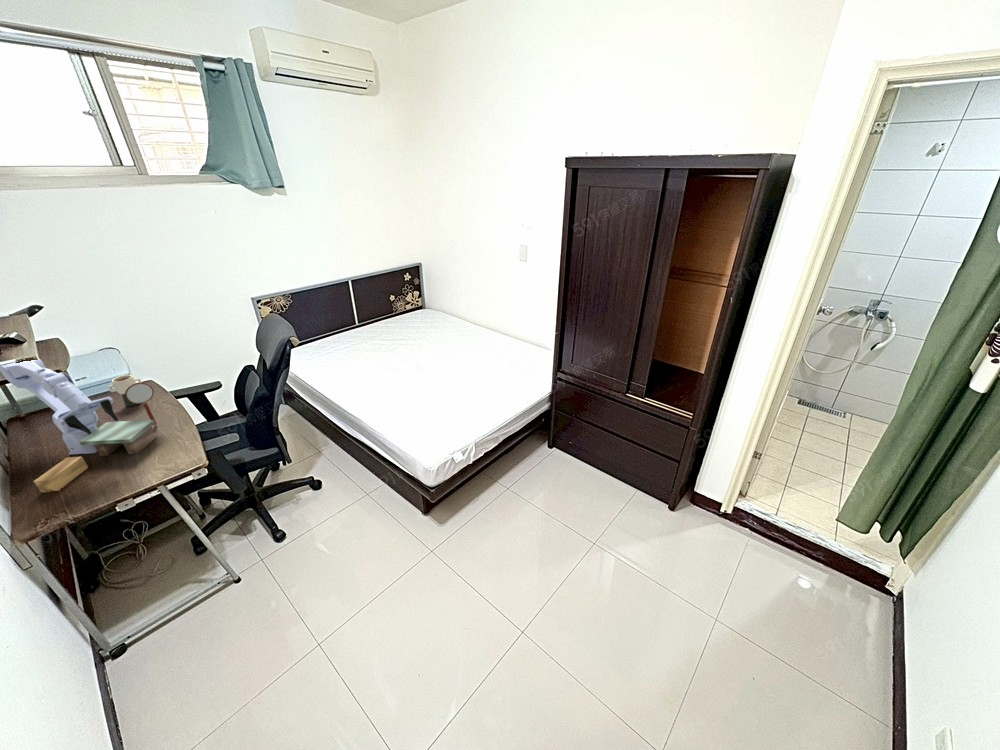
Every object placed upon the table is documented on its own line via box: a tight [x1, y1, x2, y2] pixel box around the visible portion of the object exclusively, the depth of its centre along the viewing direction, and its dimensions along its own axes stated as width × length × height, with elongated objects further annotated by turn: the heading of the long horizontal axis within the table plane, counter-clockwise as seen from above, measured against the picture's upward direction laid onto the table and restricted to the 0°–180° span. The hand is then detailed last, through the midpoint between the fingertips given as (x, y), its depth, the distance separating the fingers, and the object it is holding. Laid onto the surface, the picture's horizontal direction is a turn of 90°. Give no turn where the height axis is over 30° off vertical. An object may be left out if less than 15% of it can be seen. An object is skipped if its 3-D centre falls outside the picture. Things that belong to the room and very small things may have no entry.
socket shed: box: [79, 419, 157, 457], centre depth 149 cm, size 17×12×8 cm
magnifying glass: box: [125, 382, 157, 427], centre depth 159 cm, size 9×2×20 cm, turn 145°
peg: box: [33, 456, 89, 493], centre depth 134 cm, size 5×12×5 cm, turn 4°
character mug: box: [107, 374, 143, 407], centre depth 176 cm, size 11×7×13 cm, turn 134°
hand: (103, 425), depth 136 cm, fingers open, 7 cm apart
